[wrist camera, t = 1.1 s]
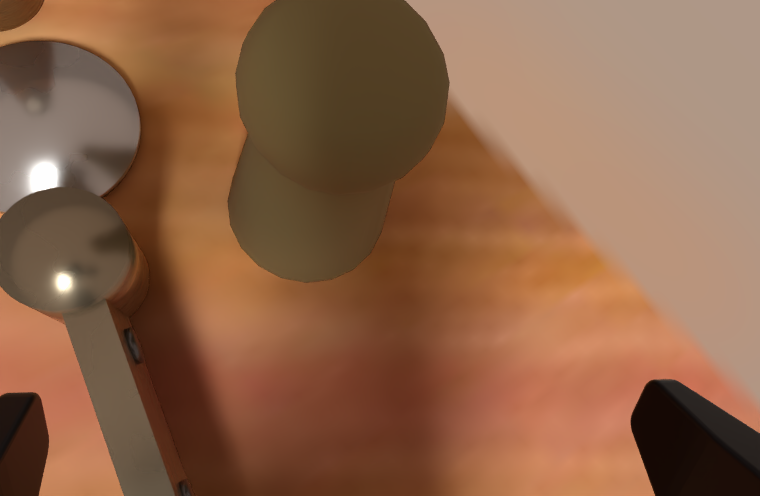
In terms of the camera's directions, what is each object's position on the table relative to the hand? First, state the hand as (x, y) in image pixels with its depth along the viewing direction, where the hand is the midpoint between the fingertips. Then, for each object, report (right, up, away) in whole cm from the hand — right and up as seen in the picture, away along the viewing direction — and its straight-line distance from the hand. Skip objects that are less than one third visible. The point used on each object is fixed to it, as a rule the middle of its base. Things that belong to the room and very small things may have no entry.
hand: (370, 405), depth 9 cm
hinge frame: (-12, +7, +14) cm, 19 cm away
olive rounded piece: (-3, +4, +15) cm, 16 cm away
